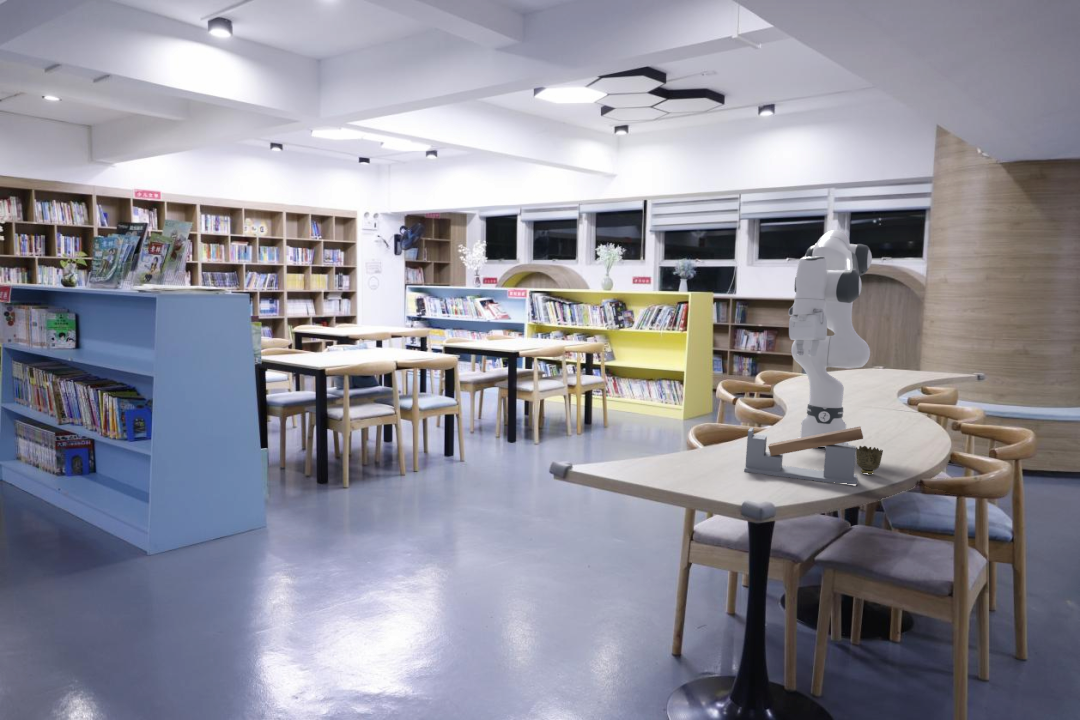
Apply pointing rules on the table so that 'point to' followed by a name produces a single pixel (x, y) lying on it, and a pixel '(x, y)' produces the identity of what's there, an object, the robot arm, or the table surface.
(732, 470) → the table surface
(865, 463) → the cup
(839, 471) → the notched stand
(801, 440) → the walnut bar
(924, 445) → the table surface
